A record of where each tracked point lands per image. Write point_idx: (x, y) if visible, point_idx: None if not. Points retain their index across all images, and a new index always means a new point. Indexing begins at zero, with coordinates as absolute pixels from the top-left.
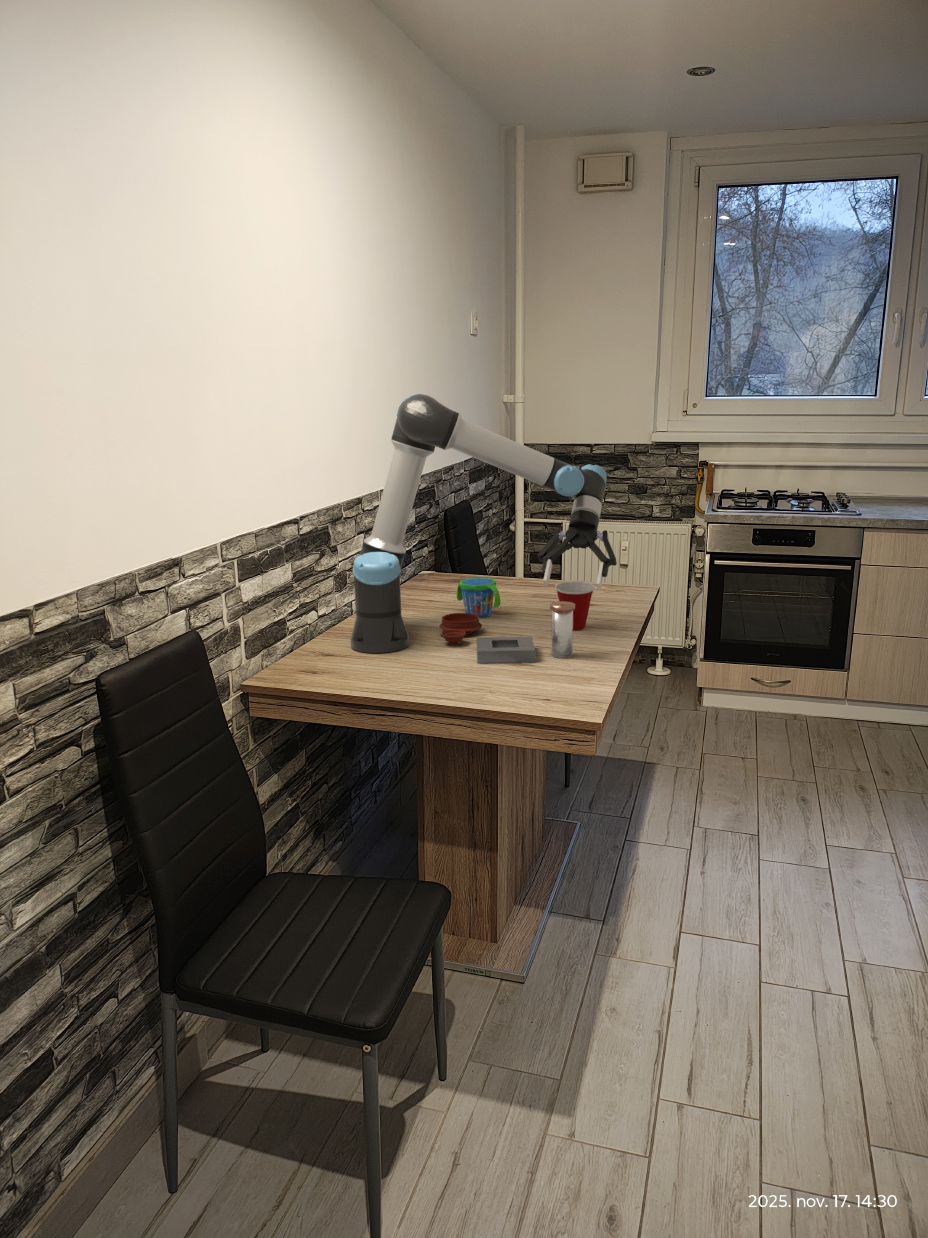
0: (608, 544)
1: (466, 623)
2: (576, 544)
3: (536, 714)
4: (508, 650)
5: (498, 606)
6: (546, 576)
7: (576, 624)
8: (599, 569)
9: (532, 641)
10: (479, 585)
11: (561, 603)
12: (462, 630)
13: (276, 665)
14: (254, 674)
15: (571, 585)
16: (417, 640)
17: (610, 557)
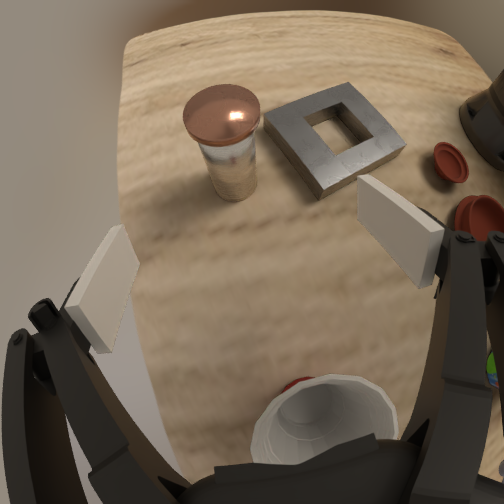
0: (8, 437)
1: (469, 207)
2: (330, 452)
3: (182, 24)
4: (307, 97)
5: (486, 367)
6: (369, 182)
7: (292, 383)
8: (94, 268)
9: (300, 157)
10: None
11: (228, 115)
12: (462, 201)
13: (476, 65)
14: (463, 47)
15: None
16: (482, 169)
17: (26, 343)
